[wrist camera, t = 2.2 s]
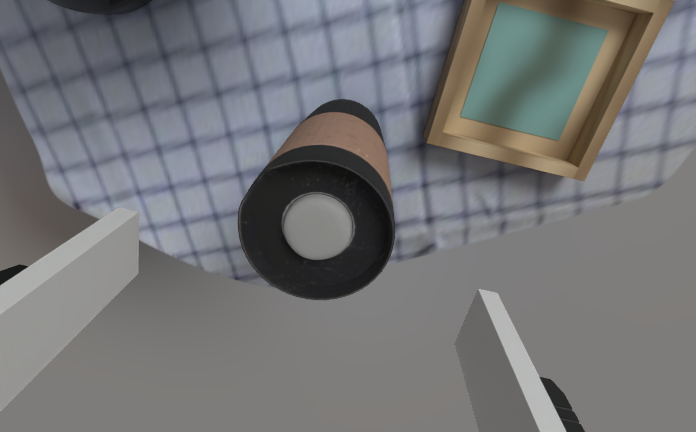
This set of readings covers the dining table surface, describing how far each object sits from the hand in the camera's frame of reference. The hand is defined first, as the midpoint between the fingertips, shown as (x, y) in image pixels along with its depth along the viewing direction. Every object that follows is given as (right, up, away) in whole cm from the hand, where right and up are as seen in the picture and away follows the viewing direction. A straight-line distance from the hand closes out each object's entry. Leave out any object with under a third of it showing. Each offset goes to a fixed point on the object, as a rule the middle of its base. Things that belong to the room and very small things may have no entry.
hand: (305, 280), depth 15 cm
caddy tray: (+17, +14, +18) cm, 29 cm away
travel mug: (+1, +10, +22) cm, 24 cm away
